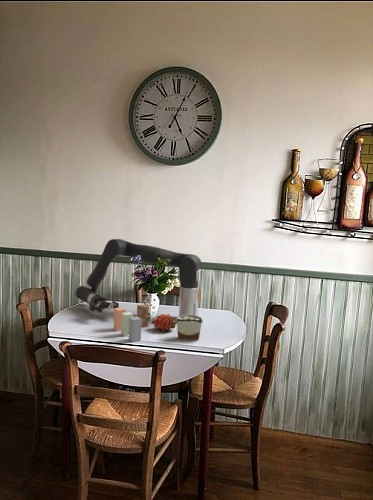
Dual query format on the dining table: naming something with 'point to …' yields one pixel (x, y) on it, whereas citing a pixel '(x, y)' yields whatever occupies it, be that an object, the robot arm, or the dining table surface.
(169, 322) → the dragon fruit
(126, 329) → the sage block
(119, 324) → the terracotta block
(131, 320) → the slate block
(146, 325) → the walnut block
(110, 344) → the dining table surface
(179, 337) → the food container
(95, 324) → the dining table surface
